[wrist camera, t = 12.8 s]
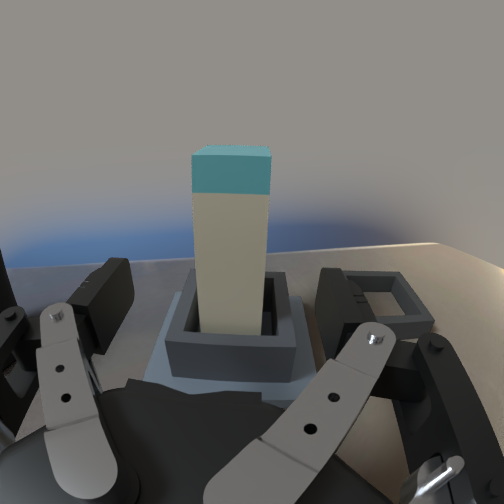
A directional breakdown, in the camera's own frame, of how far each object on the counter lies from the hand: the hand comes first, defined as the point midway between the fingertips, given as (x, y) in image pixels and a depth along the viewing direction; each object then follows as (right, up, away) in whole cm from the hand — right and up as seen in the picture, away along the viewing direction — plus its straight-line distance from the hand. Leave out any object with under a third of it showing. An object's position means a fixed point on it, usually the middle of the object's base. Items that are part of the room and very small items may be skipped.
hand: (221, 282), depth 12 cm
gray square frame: (+14, -5, +16) cm, 21 cm away
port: (0, -6, +11) cm, 13 cm away
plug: (0, -5, +11) cm, 12 cm away
